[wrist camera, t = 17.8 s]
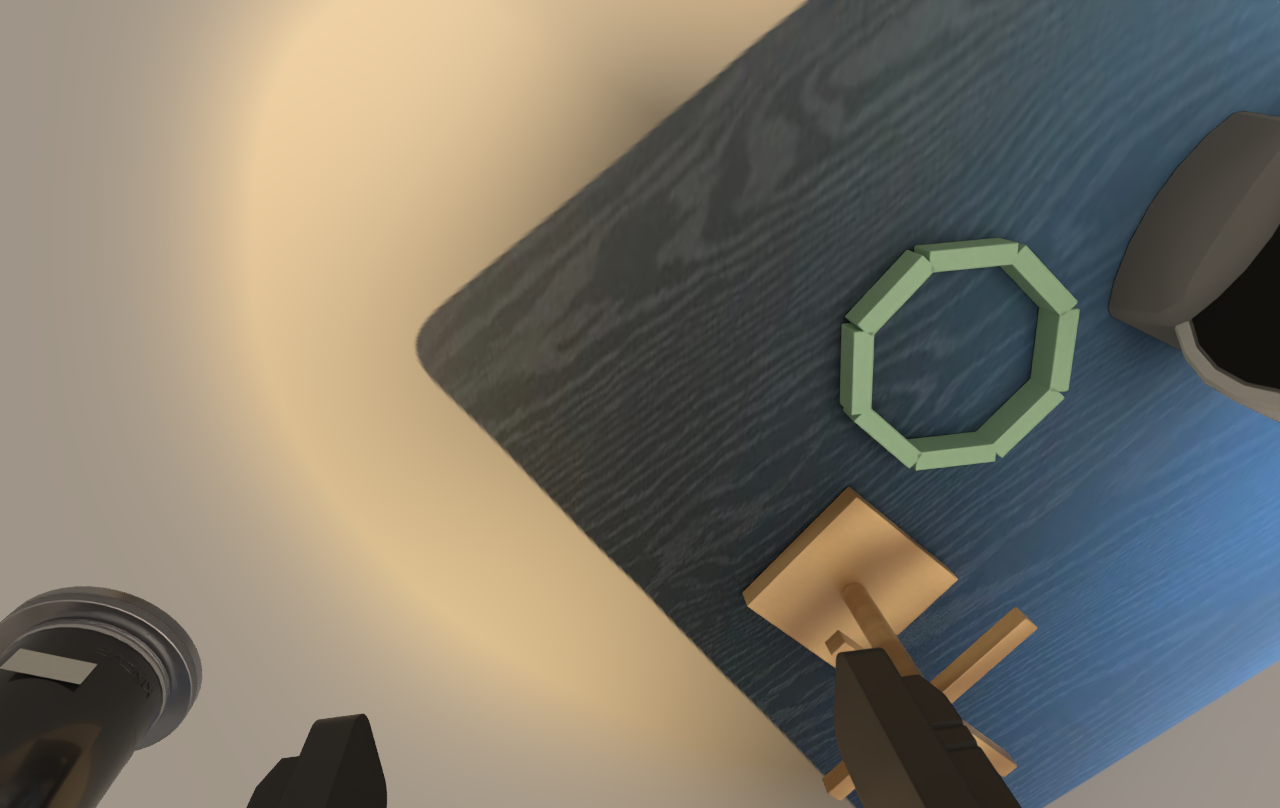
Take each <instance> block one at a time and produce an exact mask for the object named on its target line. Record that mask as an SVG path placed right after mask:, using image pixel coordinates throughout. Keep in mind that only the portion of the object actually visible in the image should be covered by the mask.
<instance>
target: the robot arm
mask: <svg viewBox="0 0 1280 808" xmlns="http://www.w3.org/2000/svg"><path fill="white" fill-rule="evenodd" d="M169 697H170V682H169V678H168V674H167V672H166V669H165V667H164V665H163V663H162V662H161V660H160V659H159V657H158V656H157V655H156V654H155V653H154V651H153V650H152V649H151V648H150V647H149V646H147V645H146V644H145V643H144V642H143V641H141V640H140V639H138V638H137V637H135V636H134V635H132V634H130V633H129V632H127V631H125V630H123V629H120V628H118V627H115V626H113V625H110V624H106V623H103V622H99V621H93V620H87V619H60V620H54V621H49V622H45V623H42V624H39V625H37V626H34V627H32V628H31V629H29V630H27V631H25V632H24V633H23V634H21V635H20V636H19V637H18V638H17V639H16V640H14V641H13V642H12V643H11V644H10V645H9V646H8V647H7V648H6V649H5V651H4V652H3V654H2V655H1V656H0V808H96V807H97V805H98V804H99V802H100V801H101V799H102V798H103V796H104V795H105V793H106V792H107V790H108V789H109V788H110V786H111V785H112V783H113V782H114V780H115V779H116V778H117V776H118V775H119V773H120V772H121V770H122V769H123V767H124V766H125V764H126V763H127V762H128V760H129V759H130V757H131V756H132V755H133V753H134V752H135V750H136V749H137V747H138V746H139V744H140V743H141V741H142V740H143V738H144V737H145V735H146V734H147V732H148V731H149V730H150V729H151V728H152V727H153V726H154V725H155V724H156V722H157V721H158V720H159V718H160V717H161V715H162V714H163V712H164V710H165V709H166V706H167V704H168V701H169ZM834 725H835V733H836V738H837V743H838V747H839V750H840V753H841V756H842V759H843V761H844V764H845V766H846V768H847V770H848V773H849V775H850V777H851V779H852V782H853V784H854V786H855V788H856V791H857V793H858V795H859V798H860V800H861V802H862V804H863V807H864V808H1021V806H1020V805H1019V803H1018V802H1017V800H1016V799H1015V797H1014V796H1013V794H1012V793H1011V791H1010V790H1009V788H1008V787H1007V785H1006V784H1005V782H1004V781H1003V779H1002V778H1001V777H1000V775H999V774H998V772H997V771H996V769H995V768H994V766H993V765H992V763H991V762H990V760H989V759H988V757H987V756H986V754H985V753H984V751H983V750H982V748H981V747H978V745H977V741H976V739H975V738H974V736H973V735H972V733H971V732H970V731H969V729H968V728H967V726H966V725H965V726H964V724H963V720H962V719H961V717H960V716H959V714H958V713H957V711H956V710H955V708H954V707H953V705H952V704H951V702H950V701H949V699H948V698H947V696H946V695H945V694H944V693H943V692H941V691H940V690H939V689H937V688H936V687H935V686H933V685H932V684H931V683H929V682H928V681H927V680H926V679H924V678H923V677H922V676H920V675H919V674H916V675H909V676H902V677H901V675H900V674H899V672H898V670H897V669H896V667H895V665H894V664H893V662H892V661H891V659H890V657H889V656H888V654H887V653H886V651H885V650H884V649H883V648H881V647H876V648H869V649H861V650H853V651H846V652H839V653H838V654H837V656H836V668H835V707H834ZM386 807H387V790H386V782H385V778H384V774H383V770H382V766H381V763H380V759H379V756H378V752H377V748H376V745H375V741H374V738H373V734H372V730H371V726H370V723H369V720H368V718H367V716H366V715H365V714H357V715H350V716H342V717H334V718H327V719H320V720H317V721H316V722H315V723H314V724H313V725H312V728H311V730H310V732H309V734H308V737H307V739H306V741H305V744H304V746H303V749H302V751H301V753H300V756H297V757H289V758H282V759H281V760H280V761H279V762H278V763H277V765H276V766H275V767H274V768H273V769H272V770H271V771H270V772H269V773H268V774H267V776H266V777H265V778H264V779H263V780H262V781H261V782H260V784H259V785H258V786H257V787H256V788H255V791H254V793H253V795H252V797H251V799H250V801H249V803H248V806H247V808H386Z"/></svg>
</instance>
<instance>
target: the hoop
mask: <svg viewBox="0 0 1280 808" xmlns="http://www.w3.org/2000/svg"><path fill="white" fill-rule="evenodd" d="M994 266H1000V267H1001V268H1002V269H1003V270H1004V271H1005V272H1006V273H1007V274H1008V275H1009V276H1010V277H1011V278H1012V279H1013V281H1014V282H1015V283H1016V284H1017V285H1018V286H1019V287H1020V288H1021V289H1022V290H1023V291H1024V292H1025V293H1026V294H1027V295H1028V296H1029V297H1030V298H1031V299H1032V300H1033V302H1034V303H1035V304H1036V305H1037V306H1038V307H1039V313H1038V321H1037V329H1036V337H1035V345H1034V353H1033V361H1032V369H1031V377H1030V379H1029V380H1028V381H1027V382H1026V383H1025V384H1024V385H1023V386H1022V387H1021V388H1020V389H1019V390H1018V391H1017V392H1016V393H1015V394H1014V395H1013V396H1012V397H1011V398H1010V399H1009V400H1008V401H1007V402H1006V403H1005V404H1004V405H1003V406H1002V407H1001V408H999V409H998V410H997V411H996V412H995V413H994V414H993V415H992V416H991V417H990V418H989V419H988V420H987V421H986V422H985V423H984V424H983V425H982V426H981V427H980V428H979V429H978V430H977V431H976V432H968V433H959V434H950V435H941V436H933V437H924V438H915V439H906V438H905V437H903V436H902V435H901V434H900V433H899V432H898V431H897V430H896V429H894V428H893V427H892V426H891V425H890V424H889V423H888V422H886V421H885V420H884V419H883V418H882V417H881V416H880V415H878V414H877V413H876V412H875V411H874V410H873V409H872V408H871V402H872V378H873V353H874V334H875V333H876V332H877V331H878V330H879V329H880V328H881V327H882V326H883V325H884V324H885V323H886V322H887V321H888V320H889V318H890V317H891V316H892V315H893V314H894V313H895V312H896V311H897V310H898V309H899V308H900V307H901V306H902V305H903V304H904V303H905V302H906V301H907V300H908V298H909V297H910V296H911V295H912V294H913V293H914V292H915V291H916V290H917V289H918V288H919V287H920V286H921V285H922V284H923V283H924V282H925V281H926V279H927V278H928V277H929V276H930V275H931V274H932V273H933V272H943V271H953V270H963V269H973V268H984V267H994ZM1077 303H1078V301H1077V300H1076V299H1075V298H1074V297H1073V296H1072V295H1071V294H1070V292H1069V291H1068V290H1067V289H1066V288H1065V287H1064V286H1063V285H1062V284H1061V283H1060V282H1059V281H1058V279H1057V278H1056V277H1055V276H1054V275H1053V274H1052V273H1051V272H1050V271H1049V270H1048V269H1047V268H1046V266H1045V265H1044V264H1043V263H1042V262H1041V261H1040V260H1039V259H1038V258H1037V257H1036V256H1035V255H1034V253H1033V252H1032V251H1031V250H1030V249H1029V248H1028V247H1027V246H1026V245H1023V244H1019V243H1017V242H1013V241H1010V240H1006V239H1002V238H989V239H979V240H969V241H958V242H948V243H938V244H927V245H917V246H914V252H912V251H909V250H906V251H905V252H904V253H903V254H902V255H901V257H900V258H899V259H898V260H897V261H896V262H895V263H894V264H893V265H892V266H891V267H890V268H889V269H888V270H887V272H886V273H885V274H884V275H883V276H882V277H881V278H880V279H879V280H878V281H877V282H876V283H875V284H874V286H873V287H872V288H871V289H870V290H869V291H868V292H867V293H866V294H865V295H864V296H863V297H862V298H861V300H860V301H859V302H858V303H857V304H856V305H855V306H854V307H853V308H852V309H851V310H850V311H849V312H848V313H847V315H846V316H845V318H847V319H848V320H849V321H850V322H851V323H844V324H842V329H841V372H840V404H841V405H842V406H843V407H844V408H843V411H844V412H845V413H846V414H847V415H848V416H849V417H850V418H851V419H852V420H853V421H854V422H855V423H856V424H857V425H859V426H860V427H861V428H862V429H863V430H864V431H866V432H867V433H868V434H869V435H870V436H871V437H873V438H874V439H875V440H876V441H877V442H878V443H880V444H881V445H882V446H883V447H884V448H885V449H887V450H888V451H889V452H890V453H891V454H892V455H894V456H895V457H896V458H897V459H898V460H899V461H901V462H902V463H903V464H904V465H905V466H906V467H908V468H911V467H913V468H914V469H915V470H925V469H933V468H942V467H950V466H959V465H967V464H976V463H984V462H993V461H995V456H996V454H997V455H998V456H1000V457H1001V458H1002V457H1003V456H1004V455H1005V454H1006V453H1007V452H1009V451H1010V450H1011V449H1012V448H1013V447H1014V446H1015V445H1016V444H1017V443H1018V442H1019V441H1020V440H1021V439H1022V438H1023V437H1024V436H1025V435H1026V434H1027V433H1028V432H1029V431H1031V430H1032V429H1033V428H1034V427H1035V426H1036V425H1037V424H1038V423H1039V422H1040V421H1041V420H1042V419H1043V418H1044V417H1045V416H1046V415H1047V414H1048V413H1049V412H1050V411H1051V410H1052V409H1054V408H1055V407H1056V406H1057V405H1058V404H1059V403H1060V402H1061V401H1062V400H1063V399H1064V396H1063V395H1062V394H1061V393H1060V392H1062V391H1068V389H1069V382H1070V375H1071V368H1072V361H1073V354H1074V347H1075V340H1076V334H1077V327H1078V320H1079V313H1080V309H1078V308H1075V307H1074V306H1075V305H1076V304H1077Z"/></svg>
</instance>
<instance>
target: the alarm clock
mask: <svg viewBox="0 0 1280 808" xmlns="http://www.w3.org/2000/svg"><path fill="white" fill-rule="evenodd" d="M1108 309H1109V311H1110V314H1111V316H1112V317H1114V318H1116V319H1118V320H1120V321H1122V322H1124V323H1126V324H1128V325H1130V326H1132V327H1134V328H1136V329H1138V330H1141V331H1143V332H1145V333H1147V334H1149V335H1151V336H1153V337H1155V338H1157V339H1159V340H1161V341H1163V342H1165V343H1167V344H1169V345H1171V346H1173V347H1175V348H1177V349H1179V350H1182V352H1183V355H1184V358H1185V359H1186V361H1187V362H1188V363H1189V364H1190V366H1191V367H1192V368H1193V369H1194V370H1195V372H1196V373H1197V374H1198V375H1199V377H1200V378H1201V379H1202V380H1203V382H1204V383H1205V384H1207V385H1209V386H1210V387H1212V388H1214V389H1215V390H1217V391H1219V392H1220V393H1222V394H1224V395H1225V396H1227V397H1229V398H1230V399H1232V400H1234V401H1235V402H1237V403H1239V404H1241V405H1243V406H1245V407H1248V408H1250V409H1252V410H1254V411H1256V412H1258V413H1260V414H1262V415H1264V416H1266V417H1269V418H1271V419H1273V420H1275V421H1277V422H1279V423H1280V117H1277V116H1271V115H1265V114H1259V113H1253V112H1247V111H1243V112H1237V113H1233V114H1232V115H1231V116H1230V117H1229V118H1227V119H1226V120H1225V121H1224V122H1222V123H1221V124H1220V125H1219V126H1218V127H1216V128H1215V129H1214V130H1213V131H1212V132H1210V133H1209V134H1208V135H1207V136H1206V137H1205V138H1204V139H1203V140H1202V141H1201V143H1200V144H1199V145H1198V146H1197V147H1196V148H1195V149H1194V150H1193V151H1192V152H1191V153H1190V154H1189V156H1188V157H1187V158H1186V159H1185V160H1184V161H1183V162H1182V163H1181V164H1180V165H1179V166H1178V167H1177V169H1176V170H1175V172H1174V173H1173V174H1172V176H1171V177H1170V178H1169V180H1168V181H1167V182H1166V184H1165V185H1164V186H1163V188H1162V189H1161V191H1160V192H1159V193H1158V195H1157V196H1156V197H1155V199H1154V200H1153V201H1152V203H1151V204H1150V206H1149V208H1148V210H1147V211H1146V213H1145V215H1144V217H1143V219H1142V221H1141V222H1140V224H1139V226H1138V228H1137V230H1136V232H1135V234H1134V235H1133V237H1132V239H1131V241H1130V243H1129V245H1128V248H1127V250H1126V253H1125V255H1124V258H1123V260H1122V263H1121V265H1120V268H1119V270H1118V273H1117V275H1116V278H1115V281H1114V285H1113V289H1112V294H1111V298H1110V302H1109V307H1108Z"/></svg>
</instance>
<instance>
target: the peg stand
mask: <svg viewBox="0 0 1280 808" xmlns="http://www.w3.org/2000/svg"><path fill="white" fill-rule="evenodd" d="M957 580H958V579H957V577H956V576H955V575H954V574H953V573H952V572H951V571H950V569H949V568H948V567H947V566H946V565H944V564H943V563H942V562H941V561H939V560H938V559H937V558H936V557H935V556H933V555H932V554H931V553H930V552H928V551H927V550H926V549H925V548H924V547H922V546H921V545H920V544H919V543H917V542H916V541H915V540H914V539H913V538H911V537H910V536H909V535H908V534H906V533H905V532H904V531H903V530H902V529H900V528H899V527H898V526H897V525H895V524H894V523H893V522H892V521H891V520H889V519H888V518H887V517H886V516H884V515H883V514H882V513H881V512H880V511H878V510H877V509H876V508H875V507H873V506H872V505H871V504H870V503H869V502H867V501H866V500H865V499H864V498H862V497H861V496H860V495H859V494H858V493H856V492H855V491H854V490H853V489H851V488H850V487H847V488H846V489H845V490H844V491H843V492H842V493H841V494H840V495H839V496H838V497H837V498H836V499H835V500H834V501H833V502H832V503H831V504H830V505H829V506H828V507H827V508H826V509H825V510H824V511H823V512H822V513H821V514H820V515H819V516H818V517H817V518H816V519H815V520H814V521H813V522H812V523H811V524H810V525H809V526H808V527H807V528H806V529H805V530H804V531H803V532H802V533H801V534H800V535H799V536H798V537H797V538H796V539H795V540H794V541H793V542H792V543H791V544H790V545H789V546H788V547H787V548H786V549H785V550H784V551H783V552H782V553H781V554H780V555H779V556H778V557H777V558H776V559H775V560H774V561H773V562H772V563H771V564H770V565H769V566H768V567H767V568H766V569H765V570H764V571H763V572H762V573H761V574H760V575H759V576H758V577H757V578H756V579H755V580H754V581H753V582H752V583H751V584H750V585H749V586H748V587H747V588H746V589H745V590H744V591H743V593H742V594H743V596H744V599H745V602H746V604H747V606H748V607H749V608H750V609H752V610H753V611H755V612H756V613H758V614H759V615H760V616H762V617H763V618H765V619H766V620H768V621H769V622H770V623H772V624H773V625H775V626H776V627H778V628H779V629H780V630H782V631H783V632H785V633H786V634H788V635H789V636H790V637H792V638H793V639H795V640H796V641H798V642H799V643H800V644H802V645H803V646H805V647H806V648H808V649H809V650H810V651H812V652H813V653H815V654H816V655H818V656H819V657H820V658H822V659H823V660H825V661H826V662H828V663H829V664H830V665H832V666H833V667H835V668H836V656H837V654H838V653H839V652H846V651H853V650H861V649H869V648H876V647H881V648H883V649H884V650H885V651H886V653H887V654H888V656H889V657H890V659H891V661H892V662H893V664H894V665H895V667H896V669H897V670H898V672H899V674H900V675H901V677H902V676H909V675H916V674H919V675H920V676H922V677H923V675H922V674H921V672H920V671H919V669H918V667H917V666H916V664H915V663H914V661H913V660H912V658H911V657H910V655H909V654H908V652H907V651H906V649H905V648H904V646H903V645H902V643H901V642H900V640H899V639H898V637H897V635H898V634H900V633H901V632H902V631H903V630H904V629H905V628H906V627H907V626H908V625H909V624H910V623H911V622H913V621H914V620H915V619H916V618H917V617H918V616H919V615H920V614H921V613H922V612H923V611H924V610H926V609H927V608H928V607H929V606H930V605H931V604H932V603H933V602H934V601H935V600H936V599H937V598H939V597H940V596H941V595H942V594H943V593H944V592H945V591H946V590H947V589H948V588H949V587H950V586H952V585H953V584H954V583H955V582H956V581H957ZM1036 629H1037V626H1036V625H1035V624H1034V623H1033V622H1032V621H1031V620H1030V619H1029V618H1028V617H1027V616H1026V615H1025V614H1024V613H1023V612H1021V611H1020V610H1019V609H1018V608H1017V607H1014V608H1013V609H1012V610H1011V611H1010V612H1009V613H1007V614H1006V615H1005V616H1004V617H1003V618H1002V619H1001V620H1000V621H998V622H997V623H996V624H995V625H994V626H993V627H992V628H991V629H989V630H988V631H987V632H986V633H985V634H984V635H983V636H982V637H980V638H979V639H978V640H977V641H976V642H975V643H974V644H973V645H972V646H970V647H969V648H968V649H967V650H966V651H965V652H964V653H963V654H961V655H960V656H959V657H958V658H957V659H956V660H955V661H954V662H952V663H951V664H950V665H949V666H948V667H947V668H946V669H945V670H943V671H942V672H941V673H940V674H939V675H938V676H937V677H936V678H935V679H933V680H932V681H931V682H930V683H931V684H932V685H933V686H935V687H936V688H937V689H939V690H940V691H941V692H943V693H944V694H945V695H946V696H947V698H948V699H949V701H950V702H951V704H952V703H953V702H954V701H955V700H956V699H957V698H959V697H960V696H961V695H962V694H963V693H964V692H965V691H967V690H968V689H969V688H970V687H971V686H972V685H973V684H975V683H976V682H977V681H978V680H979V679H980V678H981V677H983V676H984V675H985V674H986V673H987V672H988V671H989V670H991V669H992V668H993V667H994V666H995V665H996V664H997V663H999V662H1000V661H1001V660H1002V659H1003V658H1004V657H1005V656H1007V655H1008V654H1009V653H1010V652H1011V651H1012V650H1013V649H1015V648H1016V647H1017V646H1018V645H1019V644H1020V643H1021V642H1023V641H1024V640H1025V639H1026V638H1027V637H1028V636H1029V635H1031V634H1032V633H1033V632H1034V631H1035V630H1036ZM923 678H924V677H923ZM924 679H925V678H924ZM963 724H964V726H965V725H966V726H967V728H968V729H969V731H970V732H971V733H972V735H973V736H974V738H975V739H976V741H977V745H978V747H981V748H982V750H983V751H984V753H985V754H986V756H987V757H988V759H989V760H990V762H991V763H992V765H993V766H994V768H995V769H996V771H997V772H998V773H999V774H1000V775H1001V776H1003V777H1005V776H1006V775H1008V774H1009V773H1010V772H1011V771H1012V770H1014V769H1015V768H1016V767H1017V765H1016V763H1015V762H1014V761H1013V759H1012V758H1011V756H1010V755H1009V754H1008V752H1006V751H1005V750H1004V749H1002V748H1001V747H1000V746H998V745H997V744H995V743H994V742H993V741H991V740H990V739H988V738H987V737H986V736H984V735H983V734H982V733H980V732H979V731H977V730H976V729H975V728H973V727H972V726H971V725H969V724H968V723H966V722H965V721H964V720H963ZM822 780H823V782H824V785H825V787H826V790H827V792H828V794H829V795H831V796H832V797H834V798H836V799H837V800H839V801H841V800H842V799H843V798H845V797H846V796H847V795H848V794H849V793H850V792H851V791H852V790H854V789H855V786H854V784H853V782H852V779H851V777H850V775H849V773H848V770H847V768H846V766H845V764H844V761H841V762H840V763H839V764H838V765H837V766H836V767H835V768H834V769H832V770H831V771H830V772H829V773H828V774H827V775H826V776H825V777H824V778H823V779H822Z"/></svg>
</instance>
